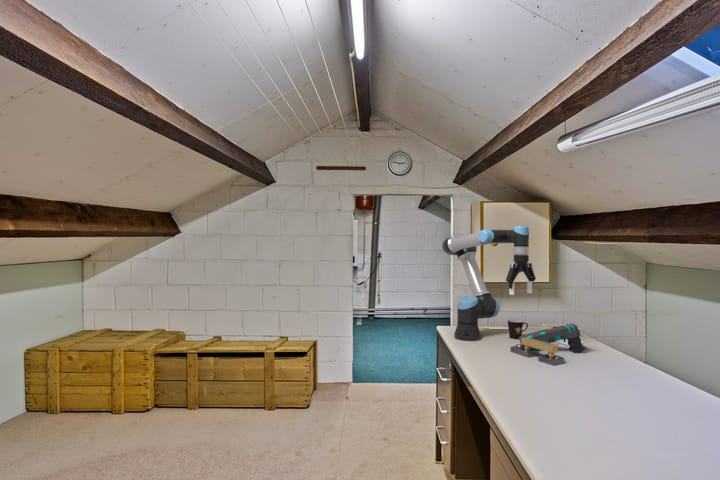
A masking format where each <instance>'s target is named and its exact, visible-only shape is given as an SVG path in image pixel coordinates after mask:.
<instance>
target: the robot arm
mask: <svg viewBox="0 0 720 480" xmlns="http://www.w3.org/2000/svg"><path fill="white" fill-rule="evenodd" d="M529 228H530V227H528V225H515V226H514V227H513V229H488V228H487V229H481V230H480V231H478V232H473V233H471V234H466V235H461V236H450V237H446V238H445V239H444V240H443V241H442V250H443V251H444V253H445V254H447V255H450V256H456V257H457V259H458V261H460V262H461V263H462V267H463V269H464V273H465V275H466V277H467V280H468V284H469V286H470V289H471V292H472V295H473V296H464V297H461V298H459V299H458V301H457V306H456V307H457V318H456V319H457V324H456V327H455V331H454V335H453V337H454V338H455V339H456V340H461V341H471V342H472V341H473V342H475V341H479V340H481V339H482V334H481V332H480V328H479V320H480V319H491V318H495V317H496V316H498V314H499V312H500V310H501V309H500V307H501V306H500V302H499V300H498V298H495V297H493V295H492V293H491V292H490V291H488V289H487V287H486V286H487V285H486V283H485V281H484V278H483V276H482V273H481V270H480V268H479V265H478V261H477V259H476V255H477V252H478V249H477V248H478V247H479V246H485V245H489V244H513V254H514V255H513V261H514V263H511V264H510V265H509V266H510V267H509V271H508V272H507V275H506V278H505V282H507V283H508V289H509V295H511V296H515V286H516V285H515V283H516V282H514V281H515V280H516V278H517V277H518V275H519V274H520V273H524V276H525V277H526V279H527V280H526V281H527V282H526V286H527V287H526V293H527V294H533V286H534V283H533V282H535V281H536V279H537V278H536V275H535V272H534V269H533V264H532V263H531V262H529V257H530V256H529V253H530V251H529V250H530V247H529V246H530V245H529V243H530V229H529Z"/></svg>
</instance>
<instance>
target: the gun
mask: <svg viewBox="0 0 720 480" xmlns="http://www.w3.org/2000/svg"><path fill="white" fill-rule="evenodd" d="M580 336H581V332H580V330H579V328H578V325H576V324H575V323H569V324H565V325H564V324H563V325H559V326H556V327H552V328H545V329H541V330H537V331H535V332H534V331H533V332H529V333H526V334H522V335H521V336H520V337H519V339H518V340H519V344H521V338H525V337H528V338H531V339H535V340H539V341H542V342H546V343H550V344H552V343H555V342H557V341H560V340H562V341H563V343H566V340H567V345H568V346H569V347H568V350H569V351H570V352H571V353H573V354H577V353H581V352H584V351H585V349H584V344H582V339H581V337H580ZM521 345H523V344H521ZM523 346H524V345H523ZM530 348H533V347H530Z"/></svg>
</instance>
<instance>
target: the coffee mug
mask: <svg viewBox="0 0 720 480" xmlns="http://www.w3.org/2000/svg"><path fill="white" fill-rule="evenodd" d="M524 324H526V327H525V328H524V329H523V327H524V326H523V325H524ZM528 328H529V324H528V323H527V322H524V321H523V320H522V319H516V318H515V319H513V318H510V319H509V318H508V319H507V329H508V336H509V338H510V339H512V340H519V337H520V336H522V335H523V334H522V333H523V332H525V331H526V330H527V329H528Z"/></svg>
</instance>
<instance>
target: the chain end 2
mask: <svg viewBox="0 0 720 480" xmlns="http://www.w3.org/2000/svg"><path fill="white" fill-rule="evenodd" d="M537 357H538V362H540V363H541V362H542V363H544V364H547V365H551V366H558V365H562V364H565V357H563V356H559V355H556V354H554V358H549V357H548V353H545V354H539V355H538V356H537Z"/></svg>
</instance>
